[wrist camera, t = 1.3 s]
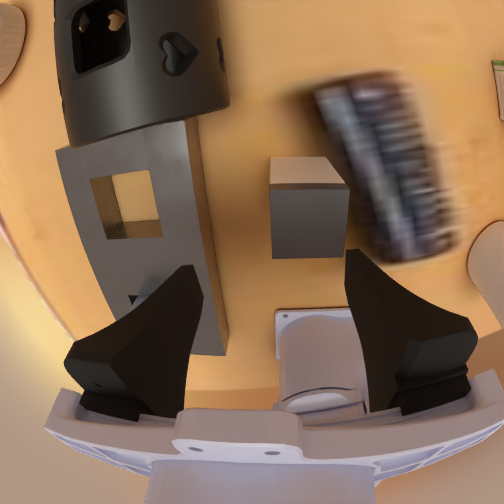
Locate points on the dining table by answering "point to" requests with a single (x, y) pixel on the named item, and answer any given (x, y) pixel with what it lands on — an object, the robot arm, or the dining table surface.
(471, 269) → the pill bottle
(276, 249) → the plug
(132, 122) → the muzzle brake
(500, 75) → the syrup box
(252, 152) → the dining table surface
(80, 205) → the block
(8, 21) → the ramekin
